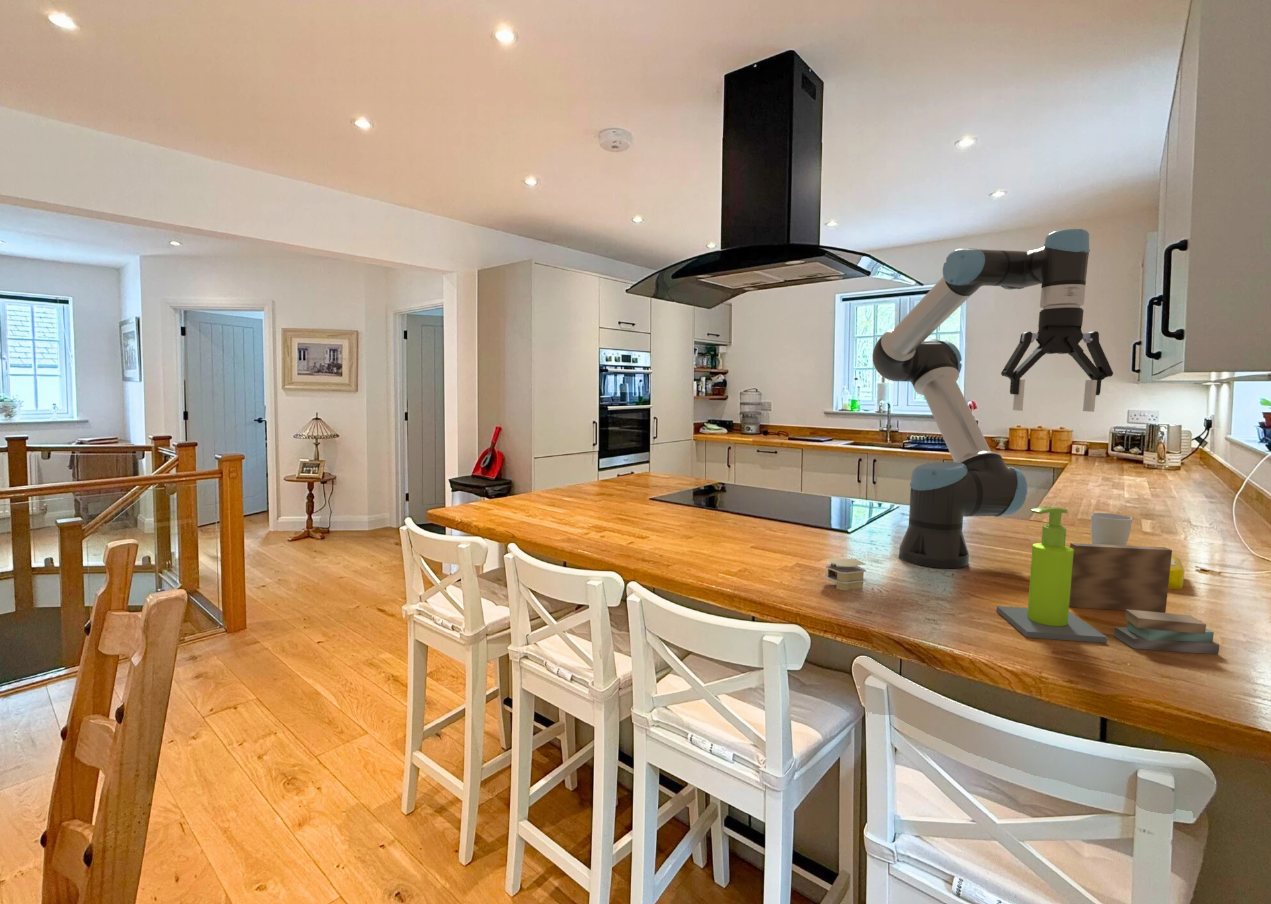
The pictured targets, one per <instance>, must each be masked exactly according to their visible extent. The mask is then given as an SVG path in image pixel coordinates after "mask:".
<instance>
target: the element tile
mask: <svg viewBox="0 0 1271 904" xmlns="http://www.w3.org/2000/svg"><path fill="white" fill-rule="evenodd" d="M1184 578H1185V569H1184V567H1183V564H1182V562H1181V559H1180V557H1177V556H1174V555H1172V557H1171V566H1170V575H1169V584H1168V590H1169V589H1170V590H1182V589H1183V586H1184Z"/></svg>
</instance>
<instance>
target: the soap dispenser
mask: <svg viewBox="0 0 1271 904" xmlns="http://www.w3.org/2000/svg"><path fill="white" fill-rule="evenodd" d="M1030 511H1031V512H1032V513H1035V514H1037V515H1038V514H1039V515H1041V514H1048V513H1049V515H1048V516H1049V518H1048V523H1046V524H1043V526H1042V529H1041V530H1042V532H1041V542H1036V543H1035V542H1034V543H1032V547H1031V562H1030V573H1029V574H1030V575H1029V589H1028V600H1027V608H1028V612H1027V617H1028V618H1029V619H1030V620H1032V621H1034V622H1037V623H1040V624H1044V625H1049V626H1065V625H1067V624H1068V614H1069V612H1070V606H1069V602H1070V589H1071V577H1072V565H1073V553H1074V549H1072V548H1070V546H1067V545H1066V537H1067V528H1066V527H1064V526H1063V525H1062V514H1063V513H1064V514H1068V512H1069V511H1068V509H1066V508H1063V507H1055V506H1040V507H1034V508H1031V509H1030Z"/></svg>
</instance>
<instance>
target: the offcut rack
mask: <svg viewBox="0 0 1271 904" xmlns="http://www.w3.org/2000/svg"><path fill="white" fill-rule="evenodd" d="M1069 545H1070V546H1069V547H1070V548H1072V549H1074V553H1073V565H1072V577H1071V589H1070V602H1069V608H1077V609H1081V608H1082V609H1095V610H1096V609H1098V610H1113V611H1125V612H1124V619H1125V620H1126V621H1127V623H1126V626H1125V627H1124V626H1114V630H1113V631H1114V632H1113V637H1115V638H1117V639H1118V640H1120V641H1121V642H1123V643H1125V644H1126V645H1127V646H1128V647H1130V648H1132V649H1138V650H1150V651H1151V650H1152V651H1153V650H1154V651H1166V652H1167V651H1168V652H1179V653H1180V652H1181V653H1191V654H1192V653H1194V654H1208V655H1219V654H1220V653H1219V651H1220V644H1219V643H1217V642H1215V641H1214V631H1212V630H1210V629H1207V624H1206V623H1204V622H1203V621H1201V620H1199V619H1198V618H1196V617H1194V616H1193V615H1191V614H1179V613H1173V612H1172V613H1171V612H1170V613H1169V612H1166V610H1167V602H1168V593H1169V591H1168V590H1169V588H1168V584H1169V575H1170V566H1171V557H1172V556H1173V555H1172V554H1173V550H1172V549H1170V548H1169V547H1168V548H1167V547H1163V546H1145V545H1144V546H1143V545H1142V546H1141V545H1126V546H1125V545H1103V544H1092V543H1081V542H1077V543H1076V542H1070V543H1069Z"/></svg>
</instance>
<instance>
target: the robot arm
mask: <svg viewBox="0 0 1271 904" xmlns="http://www.w3.org/2000/svg"><path fill="white" fill-rule="evenodd" d="M1090 250H1091V249H1090V233H1089V231H1087V230H1086V229H1083V228H1070V229H1069V228H1067V229H1060V230H1056V231H1052V232H1050V233H1049V234H1046V236H1045V240H1044V243H1043V247H1040V248H1036V249H1033V250H1026V251H1024V250H1000V249H997V250H996V249H982V248H975V247H973V248H971V247H970V248H958V249H955V250H953V251H951V252H950V253H949V254H948V255H947V256H946V259H945V260H946V261H945V262H944V263H943V267H942V277H941V278H940V279H939V280H938V281H937V283H935V285H933V287H932V288H930V289H929V291H928V292H927V293H926V294H925V295H924V296H923V297H922V298H921V299H920V300H919V302H918V303H917V304H916V305H915V306H914V307H913V308H912V309H911V310H910V311H909V312H908V313H907V314H906V316H904V318H903V319H901V321H900V322H899V323H898V324H897V325H896V326H895V327H894V328H893V329H889V330H887V331H886V332H884V333H883V334H882V335H881V336H880V338H879V339H878V340H877V341H876V344H875V345H874V348H873V351H872V362H873V367H874V369H875V370H876V372H877V373H878V374H879V375H880V376H882V377H883V378H884V379H886V380H889V381H891V382H907V383H908V382H910V383H911V384H912V387H913V389H914V391H915V393H916V394H918V395H922V396H924V399H925V401H926V403H927V405H928V408H929V410H930V412H931V414H932V417H933V419H934V421H935V423H936V425H937V428H938V429H939V431H940V434H941V436H942V438H943V441H944V442H945V445H946V447H947V449H948V452H949V453H950V457H951V458H952V460H953V461H945V462H944V461H943V462H941V461H939V462H938V461H936V462H927V463H923V464H919V465H917V466H915V468H914V469H913V470H912V473H911V478H910V483H909V487H910V495H909V509H908V510H909V511H908V512H909V514H908V526H907V529H906V531H905V534H904V535H903V538H902V540H901V542H900V545H899V549H898V556H899V558H900V559H901V560H904V561H906V562H908V563H912V564H914V565H919V566H924V567H928V568H929V567H930V568H938V569H961V568H965V567H967V566H968V565H969V562H970V561H969V560H970V553H969V550H968V547H967V544H966V540H965V536H964V533H963V527H964V526H963V525H964V524H963V523H964V517H965V518H966V517H996V518H997V517H1001V516H1002V517H1003V516H1010V515H1013V514H1015V513H1017V512H1018V511H1020V509H1021V508H1022V507H1023V506H1024V504H1025V502H1026V499H1027V498H1026V497H1027V495H1028V481H1027V479H1026V477H1025V475H1024V473H1023V472H1022V470H1020V469H1018V468H1015V467H1013V466H1009V467H1008V466H1007V465H1006V463H1005V461H1004V458H1003V457H1002V455H1001V454H1000V453H998V452H994V451H991V448H990V446H989V444H988V443H987V439H985V436H984V434H983V432H982V430H981V429H980V425H978V422H977V420H976V419H975V417H974V415H973V412H972V410H971V409H970V406H969V404H968V402H967V400H966V398H965V396H964V394H963V392H962V389H961V388H960V386H959V385H958V379H960V378H959V377H960V373H961V370H962V366H963V365H962V363H961V361H962V360H963V359H962V355H961V352H960V350H959V348H958V347H957V345H955V344H953V342H950V341H947V340H942V339H936V338H935V339H934V338H933V339H928V340H927V338H928V337H930V335H931V334H932V333H934V332H935V330H936V329H938V328H939V327H940V326H941V325H942V324H943V323H944V322H945V321H946V320H947V319H948V318H949V317H950V316H952V314H954V312H955V311H956V310H958V309H959V308H960V307H961V305H963V304H964V303H965V302H966V301H967V300H968V299H969V298H970V297H971V296H972V295H973V294H974V293H976V292H977V290H979V289H980V288H981V287H984V286H988V287H989V286H990V287H1001V288H1003V289H1005V290H1022V289H1025V288H1029V287H1032V286H1033V287H1034V286H1038V285H1041V286H1040V287H1041V291H1040V302H1039V307H1040V308H1041V310H1040V311H1039V314H1038V325H1037V327H1038V328H1037V329H1038V330H1037V332H1036V333H1034V332H1032V331H1025V332H1022V333H1021V334H1020V338H1019V343H1018V344H1017V345H1016V348H1015V349H1014V351H1013V352H1012V354H1011V356H1010V357H1009V358H1008V361H1007V362H1006V364H1005V366H1004V368H1003V369H1002V371H1001V373H1000V375H1001V376H1002V377H1006V378H1008V379H1009V380H1010V383H1009V385H1010V387H1009V393H1010V395H1013V403H1012V405H1013V406H1012V410H1013V411H1019V412H1020V411H1021V412H1022V411H1023V408H1024V396H1025V384H1026V383H1025V382H1026V379H1021V378H1022V377H1023V376H1025V374H1026V373H1027V372H1028V371H1029V370H1030V369H1031V368H1032V367H1033V366H1034V365H1035V364H1036V363H1037V362H1038V361H1040V359H1041V358H1042V357H1044V356H1045V355H1053V354H1059V355H1064V354H1068V355H1069V356H1070V357H1072V358H1073V360H1074V361H1075V362H1076V363H1077V364H1078V366H1079V367H1080V368H1081V370H1083V371H1084V373H1085V374H1086V375H1087V376H1088V377H1089V379H1085V383H1084V395H1083V407H1082V411H1083V412H1091V413H1092V412H1093V413H1094V412H1095V407H1096V396H1100V394H1101V389H1102V380H1105V378H1109V377H1110V378H1111V377H1112V376H1113V375H1114V372H1113V369H1112V367H1111V365H1110V362H1109V361H1108V358H1107V356H1106V353H1105V352H1104V349H1103V348H1102V346H1101V343H1100V333H1099V332H1098V331H1097V330H1095V331H1088V332H1083V331H1082V326H1083V319H1084V309H1083V308H1082V306H1083V305H1085V297H1086V296H1085V295H1086V287H1087V286H1086V284H1087V274H1088V271H1087V270H1088V262H1089V257H1090V256H1089V255H1090V254H1089V253H1090V252H1091V251H1090ZM1082 340H1083V342H1084V343H1085V344H1086V348H1087V350H1088V353H1089V354H1090V357H1091V359H1092V360H1093V362H1092V360H1091V359H1090V358H1089V357H1088V356H1087V355H1086V353H1085V352H1084V349H1083V347H1082V346H1080V342H1082ZM1035 341H1036V342H1037V344H1038V346H1037V347H1036V348H1035V349H1034V350H1033V351H1032V353H1031V354H1030V355H1029V356H1028V357H1027V358H1026V359H1025V360H1024V361H1023V362H1022V363H1020V362H1021V360H1022V358H1023V357H1024V355H1025V353H1026V352H1027V351H1028V349H1029V347H1030V345H1031V344H1032V343H1034V342H1035ZM1019 363H1020V364H1019Z"/></svg>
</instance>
